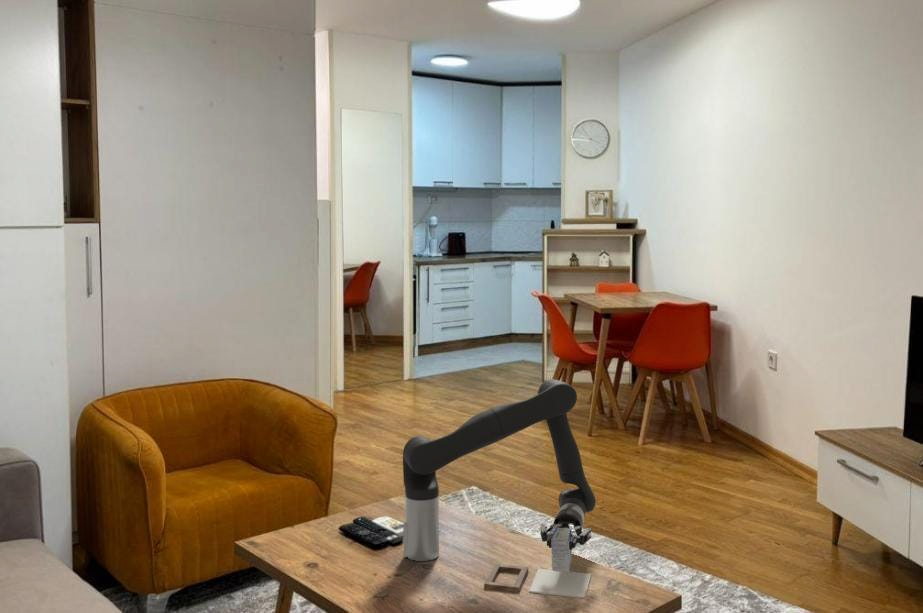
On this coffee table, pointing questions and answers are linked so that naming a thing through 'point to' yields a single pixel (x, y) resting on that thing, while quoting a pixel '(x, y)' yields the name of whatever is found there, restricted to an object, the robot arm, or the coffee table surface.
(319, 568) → the coffee table surface
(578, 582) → the grey mat
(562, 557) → the medicine box
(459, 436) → the robot arm
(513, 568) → the box holder
